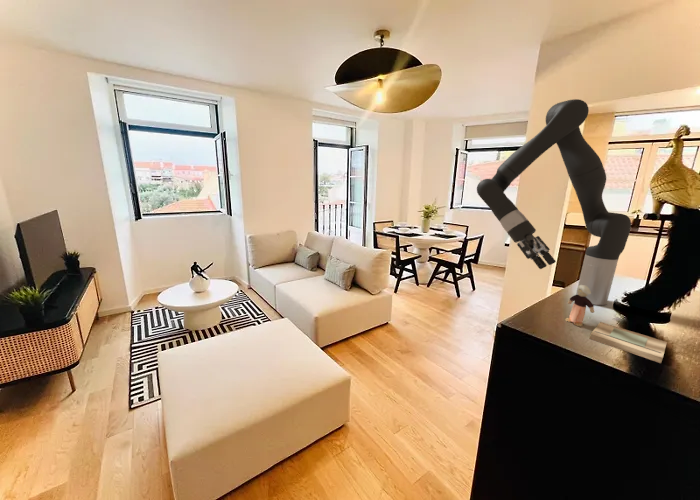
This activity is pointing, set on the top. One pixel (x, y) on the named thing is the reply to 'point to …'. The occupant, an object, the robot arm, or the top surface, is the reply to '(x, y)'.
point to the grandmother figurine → (580, 305)
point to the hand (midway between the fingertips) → (548, 265)
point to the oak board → (629, 341)
